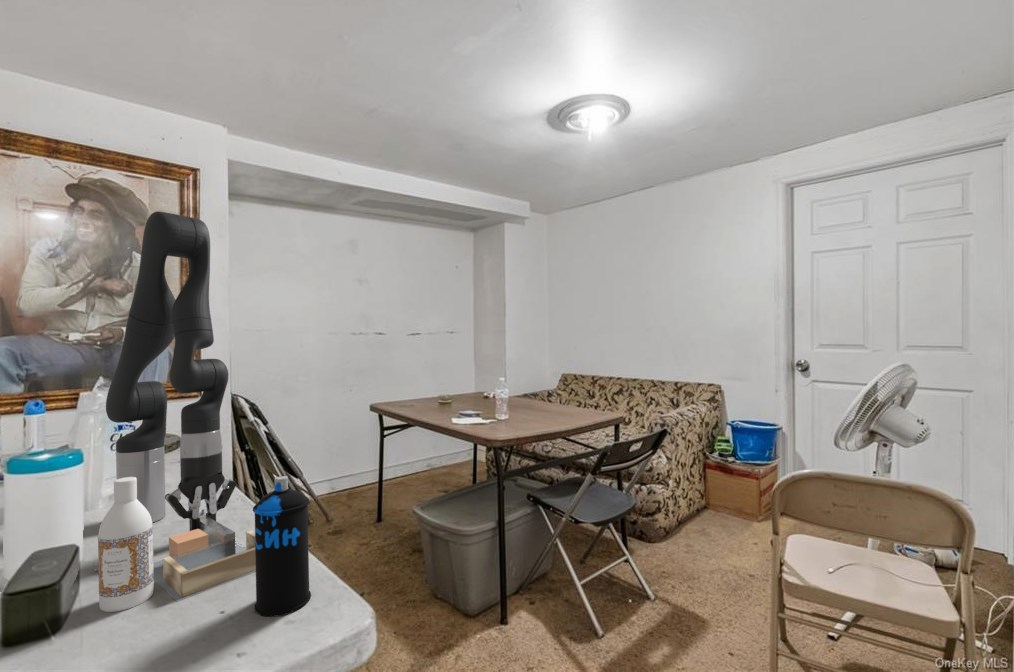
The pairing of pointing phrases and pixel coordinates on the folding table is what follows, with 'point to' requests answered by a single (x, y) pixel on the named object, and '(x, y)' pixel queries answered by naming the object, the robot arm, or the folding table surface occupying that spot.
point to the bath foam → (125, 551)
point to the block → (187, 542)
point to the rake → (209, 545)
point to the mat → (159, 579)
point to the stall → (210, 570)
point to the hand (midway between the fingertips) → (203, 532)
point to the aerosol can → (281, 551)
